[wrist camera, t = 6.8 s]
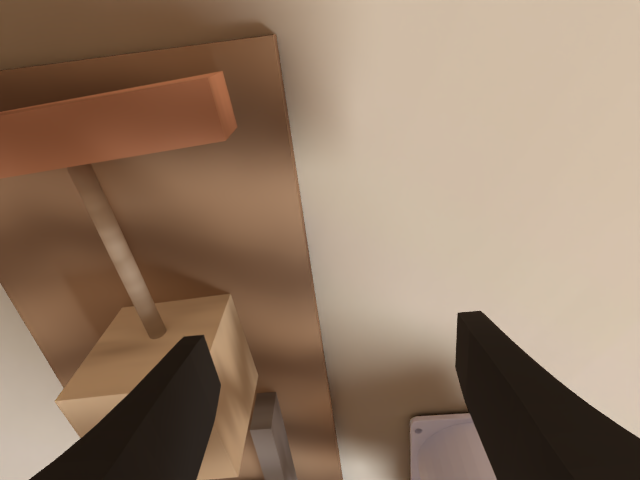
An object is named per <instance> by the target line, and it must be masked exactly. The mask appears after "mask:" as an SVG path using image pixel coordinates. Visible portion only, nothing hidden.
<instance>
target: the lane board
mask: <svg viewBox="0 0 640 480" xmlns="http://www.w3.org/2000/svg"><path fill="white" fill-rule="evenodd" d="M219 71H223V74H224V78H225V82H226V85H227V89H228V93H229V97H230V101H231V104H232V108H233V112H234V116H235V120H236V123H237V128H236V129H235V131H234V132H233V133H232V134H231V135H230V136H229V138H228V139H227V140H226V141H222V142H216V143H210V144H204V145H198V146H192V147H186V148H180V149H174V150H168V151H162V152H157V153H151V154H145V155H139V156H133V157H127V158H121V159H115V160H109V161H103V162H97V163H91V165H92V168H93V170H94V172H95V174H96V176H97V178H98V181H99V183H100V185H101V187H102V189H103V192H104V194H105V196H106V198H107V200H108V203H109V205H110V207H111V209H112V211H113V214H114V216H115V218H116V220H117V222H118V225H119V227H120V229H121V231H122V233H123V235H124V238H125V240H126V242H127V244H128V246H129V249H130V251H131V253H132V255H133V257H134V260H135V262H136V264H137V266H138V268H139V271H140V273H141V275H142V277H143V279H144V282H145V284H146V286H147V288H148V290H149V292H150V295H151V297H152V299H153V301H154V303H161V302H169V301H177V300H185V299H192V298H200V297H208V296H216V295H223V294H231V296H232V299H233V302H234V305H235V308H236V311H237V314H238V317H239V320H240V323H241V326H242V329H243V332H244V334H245V337H246V340H247V343H248V346H249V349H250V352H251V355H252V358H253V361H254V364H255V367H256V370H257V373H258V380H257V385H256V390H255V395H254V400H253V405H252V410H251V415H250V420H249V425H248V430H247V435H246V440H245V445H244V450H243V455H242V460H241V465H240V470H239V475H238V477H234V478H222V479H210V480H343V477H342V470H341V464H340V457H339V450H338V444H337V437H336V430H335V424H334V417H333V410H332V404H331V397H330V391H329V384H328V377H327V371H326V364H325V357H324V351H323V344H322V337H321V331H320V324H319V317H318V311H317V304H316V297H315V291H314V284H313V277H312V271H311V264H310V257H309V251H308V244H307V237H306V231H305V224H304V217H303V211H302V204H301V197H300V191H299V184H298V178H297V171H296V164H295V158H294V151H293V144H292V138H291V131H290V124H289V118H288V111H287V104H286V98H285V91H284V84H283V78H282V71H281V64H280V58H279V51H278V44H277V38H276V35H268V36H260V37H253V38H245V39H238V40H230V41H222V42H215V43H207V44H199V45H192V46H184V47H177V48H169V49H161V50H154V51H146V52H138V53H131V54H123V55H116V56H108V57H100V58H93V59H85V60H77V61H70V62H62V63H55V64H47V65H39V66H32V67H24V68H16V69H9V70H1V71H0V112H3V111H9V110H14V109H19V108H25V107H30V106H36V105H41V104H46V103H52V102H57V101H62V100H68V99H73V98H79V97H84V96H89V95H95V94H100V93H106V92H111V91H116V90H122V89H127V88H133V87H138V86H143V85H149V84H154V83H160V82H165V81H170V80H176V79H181V78H187V77H192V76H197V75H203V74H208V73H214V72H219ZM0 283H1V285H2V286H3V288H4V290H5V291H6V293H7V295H8V296H9V298H10V300H11V301H12V303H13V305H14V306H15V308H16V310H17V311H18V313H19V315H20V316H21V318H22V320H23V321H24V323H25V325H26V326H27V328H28V329H29V331H30V333H31V334H32V336H33V338H34V339H35V341H36V343H37V344H38V346H39V348H40V349H41V351H42V353H43V354H44V356H45V358H46V359H47V361H48V363H49V364H50V366H51V368H52V369H53V371H54V373H55V374H56V376H57V378H58V379H59V381H60V383H61V384H62V386H63V388H65V386H66V385H67V383H68V382H69V381H70V379H71V378H72V377H73V375H74V374H75V372H76V371H77V370H78V368H79V367H80V365H81V364H82V363H83V361H84V360H85V358H86V357H87V356H88V354H89V353H90V352H91V350H92V349H93V347H94V346H95V345H96V343H97V342H98V340H99V339H100V338H101V336H102V335H103V333H104V332H105V331H106V329H107V328H108V327H109V325H110V324H111V322H112V321H113V320H114V318H115V317H116V315H117V314H118V313H119V311H120V310H121V308H123V307H131V306H134V305H133V303H132V301H131V299H130V297H129V295H128V292H127V290H126V288H125V286H124V284H123V282H122V280H121V278H120V276H119V274H118V272H117V270H116V268H115V266H114V264H113V262H112V260H111V258H110V256H109V254H108V252H107V249H106V247H105V245H104V243H103V241H102V239H101V237H100V235H99V233H98V231H97V229H96V227H95V225H94V223H93V221H92V219H91V217H90V215H89V213H88V211H87V209H86V206H85V204H84V202H83V200H82V198H81V196H80V194H79V192H78V190H77V188H76V186H75V184H74V182H73V180H72V178H71V176H70V174H69V172H68V170H67V168H61V169H55V170H49V171H43V172H37V173H31V174H25V175H19V176H13V177H7V178H1V179H0Z"/></svg>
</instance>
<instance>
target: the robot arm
mask: <svg viewBox="0 0 640 480" xmlns="http://www.w3.org/2000/svg"><path fill="white" fill-rule="evenodd" d="M455 367H456V371H457V375H458V379H459V382H460V386H461V389H462V393H463V396H464V400H465V403H466V405H467V408H468V410H469V413H464V414H447V415H430V416H416V417H413V418H412V419H411V420H410V471H411V480H640V438H638V437H637V436H635V435H634V434H632V433H631V432H629V431H627V430H626V429H624V428H623V427H621V426H620V425H618V424H617V423H615V422H614V421H613V420H611V419H610V418H608V417H607V416H605V415H604V414H602V413H601V412H599V411H598V410H597V409H595V408H594V407H592V406H591V405H589V404H588V403H587V402H585V401H584V400H583V399H581V398H580V397H579V396H577V395H576V394H575V393H573V392H572V391H571V390H570V389H568V388H567V387H566V386H565V385H563V384H562V383H561V382H560V381H558V380H557V379H556V378H555V377H553V376H552V375H551V374H550V373H549V372H547V371H546V370H545V369H544V368H543V367H541V366H540V365H539V364H538V363H537V362H536V361H535V360H533V359H532V358H531V357H530V356H529V355H528V354H526V353H525V352H524V351H523V350H522V349H521V348H520V347H519V346H518V345H516V344H515V343H514V342H513V341H512V340H511V339H510V338H509V337H508V336H507V335H506V334H505V333H504V332H503V331H501V330H500V329H499V328H498V327H497V326H496V325H495V324H494V323H493V322H492V321H491V320H490V319H489V318H488V317H487V316H486V315H485V314H484V313H482V312H481V311H473V312H462V313H458V317H457V341H456V365H455ZM220 389H221V383H220V380H219V377H218V374H217V371H216V368H215V366H214V363H213V360H212V357H211V354H210V351H209V348H208V345H207V342H206V340H205V337H204V335H195V336H184V337H183V338H182V339H181V340H180V341H179V342H178V343H177V344H176V345H175V346H174V347H173V348H172V349H171V350H170V351H169V352H168V353H167V354H166V355H165V356H164V357H163V358H162V359H161V360H160V362H159V363H158V364H157V365H156V366H155V367H154V368H153V369H152V370H151V371H150V372H149V373H148V374H147V375H146V376H145V377H144V378H143V379H142V380H141V381H140V382H139V383H138V385H137V386H136V387H135V388H134V389H133V390H132V391H131V392H130V393H129V394H128V395H127V396H126V397H125V398H124V399H123V400H121V401H120V402H119V403H118V404H117V405H116V406H115V407H114V408H113V409H112V410H111V411H110V412H109V413H108V414H107V415H106V416H105V417H104V418H103V419H102V420H101V421H100V422H99V423H98V424H96V425H95V426H94V427H93V428H92V429H91V430H90V431H89V432H88V433H86V434H85V435H84V436H83V437H82V438H81V439H80V440H78V441H77V442H76V443H75V444H74V445H72V446H71V447H70V448H69V449H68V450H66V451H65V452H64V453H63V454H62V455H60V456H59V457H58V458H57V459H55V460H54V461H53V462H52V463H50V464H49V465H48V466H46V467H45V468H44V469H43V470H41V471H40V472H39V473H37V474H36V475H35V476H33V477H32V478H31V479H29V480H197V477H198V474H199V470H200V467H201V464H202V461H203V458H204V454H205V451H206V448H207V445H208V441H209V438H210V435H211V432H212V428H213V425H214V421H215V417H216V412H217V407H218V401H219V395H220Z"/></svg>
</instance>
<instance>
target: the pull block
mask: <svg viewBox="0 0 640 480" xmlns="http://www.w3.org/2000/svg"><path fill="white" fill-rule="evenodd" d="M236 128H237V123H236V120H235V116H234V112H233V108H232V104H231V101H230V97H229V93H228V89H227V85H226V82H225V78H224V74H223V71H219V72H214V73H208V74H203V75H197V76H192V77H187V78H181V79H176V80H170V81H165V82H160V83H154V84H149V85H143V86H138V87H133V88H127V89H122V90H116V91H111V92H106V93H100V94H95V95H89V96H84V97H79V98H73V99H68V100H62V101H57V102H52V103H46V104H41V105H36V106H30V107H25V108H19V109H14V110H9V111H3V112H0V179H1V178H7V177H13V176H19V175H25V174H31V173H37V172H43V171H49V170H55V169H61V168H67V170H68V172H69V174H70V176H71V178H72V180H73V182H74V184H75V186H76V188H77V190H78V192H79V194H80V196H81V198H82V200H83V202H84V204H85V206H86V209H87V211H88V213H89V215H90V217H91V219H92V221H93V223H94V225H95V227H96V229H97V231H98V233H99V235H100V237H101V239H102V241H103V243H104V245H105V247H106V249H107V252H108V254H109V256H110V258H111V260H112V262H113V264H114V266H115V268H116V270H117V272H118V274H119V276H120V278H121V280H122V282H123V284H124V286H125V288H126V290H127V292H128V295H129V297H130V299H131V301H132V303H133V305H134V306H131V307H123V308H121V310H120V311H119V313H118V314H117V315H116V317H115V318H114V320H113V321H112V322H111V324H110V325H109V327H108V328H107V329H106V331H105V332H104V333H103V335H102V336H101V338H100V339H99V340H98V342H97V343H96V345H95V346H94V347H93V349H92V350H91V352H90V353H89V354H88V356H87V357H86V358H85V360H84V361H83V363H82V364H81V365H80V367H79V368H78V370H77V371H76V372H75V374H74V375H73V377H72V378H71V379H70V381H69V382H68V383H67V385H66V386H65V388H64V389H63V390H62V392H61V393H60V395H59V396H58V397H57V399H56V400H55V403H56V404H57V405H58V407H59V408H60V410H61V411H62V412H63V414H64V415H65V417H66V418H67V419H68V421H69V422H70V424H71V425H72V427H73V428H74V429H75V431H76V432H77V434H78V435H79V436H80V438H82V437H83V436H84V435H85V434H86V433H88V432H89V431H90V430H91V429H92V428H93V427H94V426H95V425H96V424H98V423H99V422H100V421H101V420H102V419H103V418H104V417H105V416H106V415H107V414H108V413H109V412H110V411H111V410H112V409H113V408H114V407H115V406H116V405H117V404H118V403H119V402H120V401H121V400H123V399H124V398H125V397H126V396H127V395H128V394H129V393H130V392H131V391H132V390H133V389H134V388H135V387H136V386H137V385H138V383H139V382H140V381H141V380H142V379H143V378H144V377H145V376H146V375H147V374H148V373H149V372H150V371H151V370H152V369H153V368H154V367H155V366H156V365H157V364H158V363H159V362H160V360H161V359H162V358H163V357H164V356H165V355H166V354H167V353H168V352H169V351H170V350H171V349H172V348H173V347H174V346H175V345H176V344H177V343H178V342H179V341H180V340H181V339H182V338H183V337H184V336H195V335H204V337H205V340H206V342H207V345H208V348H209V351H210V354H211V357H212V360H213V363H214V366H215V368H216V371H217V374H218V377H219V380H220V383H221V389H220V395H219V401H218V407H217V412H216V417H215V421H214V425H213V428H212V432H211V435H210V438H209V441H208V445H207V448H206V451H205V454H204V458H203V461H202V464H201V467H200V470H199V474H198V477H197V480H210V479H222V478H234V477H238V475H239V470H240V465H241V460H242V455H243V450H244V445H245V440H246V435H247V430H248V425H249V420H250V415H251V410H252V405H253V400H254V395H255V390H256V385H257V380H258V373H257V370H256V367H255V364H254V361H253V358H252V355H251V352H250V349H249V346H248V343H247V340H246V337H245V334H244V332H243V329H242V326H241V323H240V320H239V317H238V314H237V311H236V308H235V305H234V302H233V299H232V296H231V294H223V295H216V296H208V297H200V298H192V299H185V300H177V301H169V302H161V303H154V301H153V299H152V297H151V295H150V292H149V290H148V288H147V286H146V284H145V282H144V279H143V277H142V275H141V273H140V271H139V268H138V266H137V264H136V262H135V260H134V257H133V255H132V253H131V251H130V249H129V246H128V244H127V242H126V240H125V238H124V235H123V233H122V231H121V229H120V227H119V225H118V222H117V220H116V218H115V216H114V214H113V211H112V209H111V207H110V205H109V203H108V200H107V198H106V196H105V194H104V192H103V189H102V187H101V185H100V183H99V181H98V178H97V176H96V174H95V172H94V170H93V168H92V165H91V163H97V162H103V161H109V160H115V159H121V158H127V157H133V156H139V155H145V154H151V153H157V152H162V151H168V150H174V149H180V148H186V147H192V146H198V145H204V144H210V143H216V142H222V141H226V140H227V139H228V138H229V136H230V135H231V134H232V133H233V132H234V131H235V129H236Z"/></svg>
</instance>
